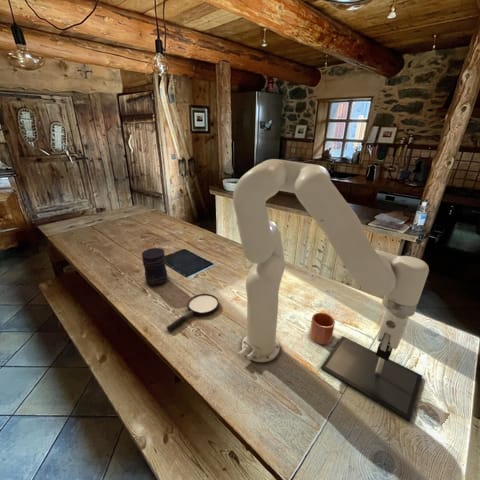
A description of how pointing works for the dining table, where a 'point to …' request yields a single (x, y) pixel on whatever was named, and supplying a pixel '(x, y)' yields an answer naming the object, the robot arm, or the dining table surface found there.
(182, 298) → the dining table surface
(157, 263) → the storage jar
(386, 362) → the tablet
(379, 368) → the stylus
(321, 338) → the pen pot
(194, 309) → the magnifying glass
